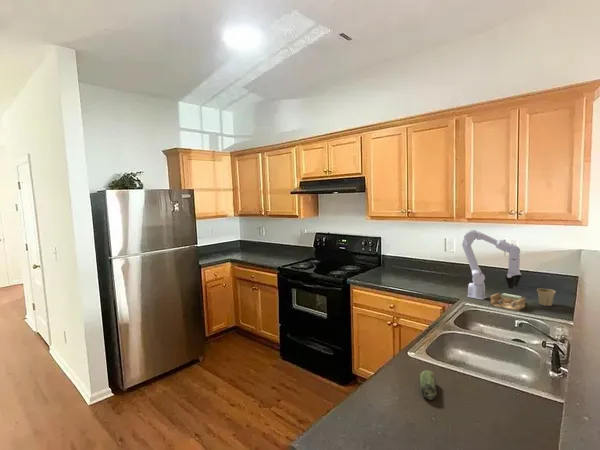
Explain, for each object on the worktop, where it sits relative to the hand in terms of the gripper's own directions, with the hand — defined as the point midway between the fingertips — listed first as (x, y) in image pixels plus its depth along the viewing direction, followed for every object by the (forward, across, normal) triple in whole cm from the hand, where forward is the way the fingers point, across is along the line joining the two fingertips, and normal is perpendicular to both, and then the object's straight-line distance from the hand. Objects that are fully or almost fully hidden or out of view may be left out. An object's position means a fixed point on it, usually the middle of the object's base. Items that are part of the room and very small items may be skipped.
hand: (513, 287), depth 210 cm
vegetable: (+10, -128, -19) cm, 130 cm away
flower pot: (+10, +9, -15) cm, 20 cm away
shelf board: (+10, +1, +1) cm, 10 cm away
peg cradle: (+9, -11, -1) cm, 15 cm away
